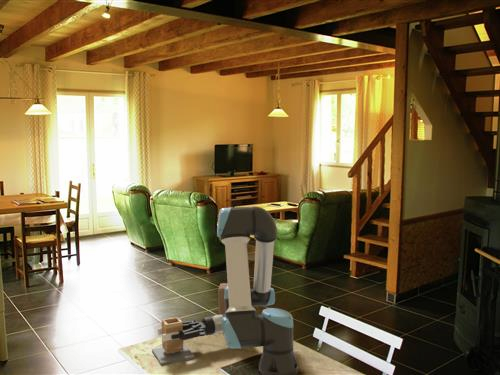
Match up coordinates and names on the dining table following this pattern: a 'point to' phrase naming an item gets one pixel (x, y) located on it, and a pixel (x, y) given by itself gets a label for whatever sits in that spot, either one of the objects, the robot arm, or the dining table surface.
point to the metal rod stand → (172, 355)
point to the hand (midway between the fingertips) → (160, 334)
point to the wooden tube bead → (170, 327)
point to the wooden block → (222, 297)
